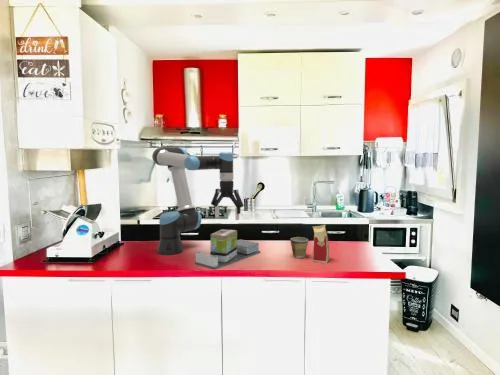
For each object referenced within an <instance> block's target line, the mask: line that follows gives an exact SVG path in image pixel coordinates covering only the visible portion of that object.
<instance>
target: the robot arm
mask: <svg viewBox="0 0 500 375" xmlns="http://www.w3.org/2000/svg"><path fill="white" fill-rule="evenodd" d="M151 158H152V161H153V163H155V165H158V166H161V167H165V166H166V167H167V170H168V171H169V172H171V177H172V181H173V182H172V183H173V188H174V192H175V197H176V201H177V205H178V208H177V210H176V211H174V210H173V211H167V212H164V213H162V214H161V215H160V216H159V221H158V222H159V241H158V245H157V253H158V254H159V255H176V254H180V253H183V252H184V246H183V242H182V240H181V233H184V232H189V231H194V230H197V229H198V228H200V226H201V223H202V215H201V212H200V211H198V210H197V209H196V207H195V206H194V205H193V203H192V198H191V194H190V189H189V188H190V187H189V185H188V184H189V183H188V180H187V175H186V171H185V169H186V170H188V171H200V170H201V171H202V170H203V171H204V170H205V171H206V170H207V171H208V170H219V188H215V190H214V191H215V192H214V194H213V197H212V200H211V203H210V205H211V206H213V211H214V214H215V215H214V217H215V218H214V219H218V218H220V206H219V204H220V203H221V202H222V200H223V199H224V198H229V199H230V200H231V201H232V203H233V204H234V206H235V209H234V211H235V213H234V214H235V216H234V217H235V221H239V220H240V214H241V208H243V207H244V203H243V201H242V198H241V195H240V193H239V189H234V181H233V180H234V154H233V152H231V151H229V152H228V151H225V152H223V151H220V152H219V154H218V155H191V154H188V152H187V150H186V149H185V148H183V147H179V146H175V147H174V146H172V147H169V146H167V147H166V146H162V147H157V148H156V149H154V151H153V152H152V157H151Z"/></svg>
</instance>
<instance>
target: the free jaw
mask: <svg viewBox="0 0 500 375" xmlns="http://www.w3.org/2000/svg"><path fill="white" fill-rule="evenodd" d="M256 251H260V250H259V242H257V241H249V240H245V239H237V252H239V253H243V254H250V253H253V252H256Z"/></svg>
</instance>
